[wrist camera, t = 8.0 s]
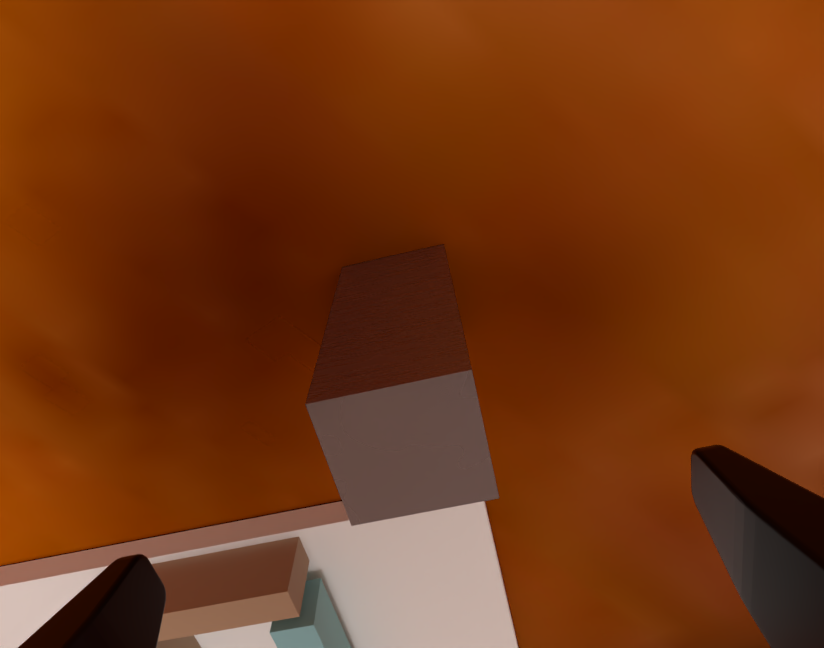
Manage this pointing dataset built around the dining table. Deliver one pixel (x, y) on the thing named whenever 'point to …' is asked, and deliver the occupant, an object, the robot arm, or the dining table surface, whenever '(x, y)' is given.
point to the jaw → (311, 622)
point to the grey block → (399, 392)
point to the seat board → (297, 580)
